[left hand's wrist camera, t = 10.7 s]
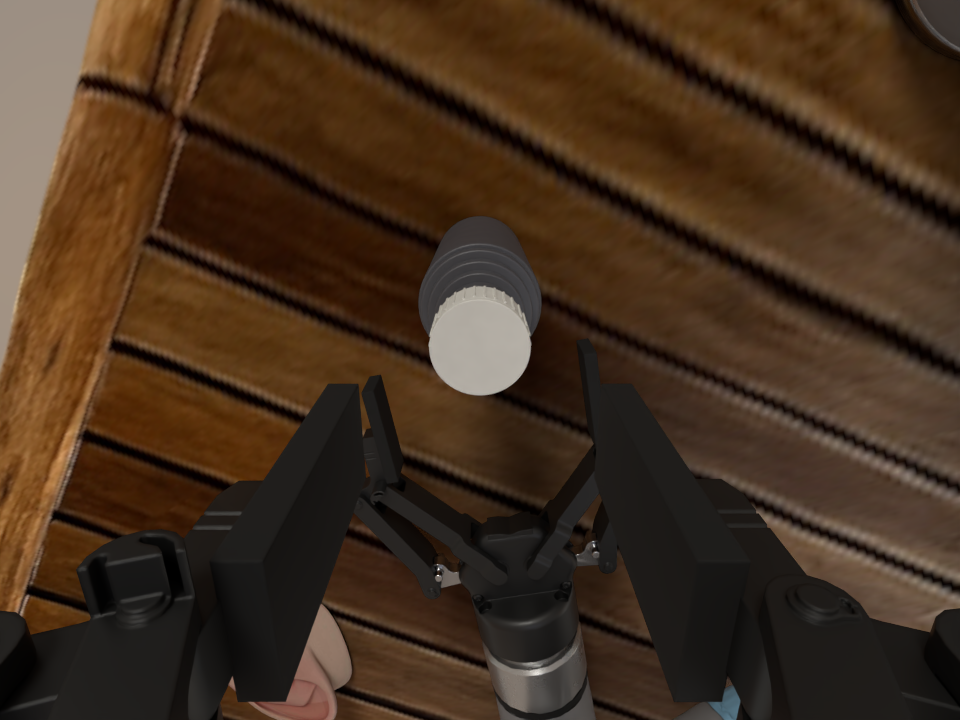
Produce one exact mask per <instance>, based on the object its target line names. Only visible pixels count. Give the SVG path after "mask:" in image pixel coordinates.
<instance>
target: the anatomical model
mask: <svg viewBox="0 0 960 720" xmlns="http://www.w3.org/2000/svg"><path fill="white" fill-rule="evenodd" d="M351 674H352V666H351V659H350V656H349V653H348V649H347V646H346V644H345V641H344V639H343V636H342V634H341V632H340V629H339V627H338V626H337V624H336V622H335V620H334V618H333V617H332V615H331V614H330V612H329V611H328V610H327V609H326V608H325V607H324V606H323V605H322V604H321V605H320V608H319V610H318V613H317V616H316V619H315V622H314V624H313V627H312V630H311V633H310V636H309V638H308V641H307V644H306V647H305V650H304V652H303V655H302V658H301V661H300V664H299V666H298V669H297V672H296V675H295V678H294V680H293V683H292V686H291V689H290V692H289V694H288V697H287V700H286V702H248V703H250V704H251V705H252V706H253V707H255V708H256V709H258V710H259V711H261V712H262V713H264V714H266V715H268V716H270V717H272V718H275V719H277V720H334V718H335V716H336V713H337V699H336V694H335V691H334V690H336V689H338V688H340V687H342V686H343V685H345V684H346V683H347V682H348V681H349V679H350V677H351ZM229 686H230V687H231V688H233V689H234V690H235V685H234V680H233V676H232V678H231V681H230V683H229ZM235 691H236V690H235Z"/></svg>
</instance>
